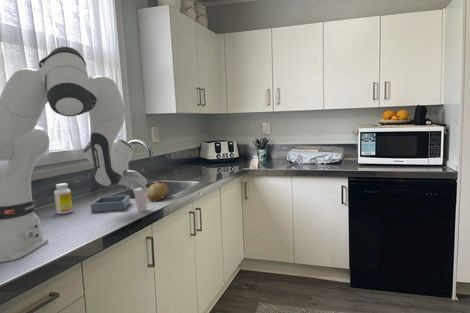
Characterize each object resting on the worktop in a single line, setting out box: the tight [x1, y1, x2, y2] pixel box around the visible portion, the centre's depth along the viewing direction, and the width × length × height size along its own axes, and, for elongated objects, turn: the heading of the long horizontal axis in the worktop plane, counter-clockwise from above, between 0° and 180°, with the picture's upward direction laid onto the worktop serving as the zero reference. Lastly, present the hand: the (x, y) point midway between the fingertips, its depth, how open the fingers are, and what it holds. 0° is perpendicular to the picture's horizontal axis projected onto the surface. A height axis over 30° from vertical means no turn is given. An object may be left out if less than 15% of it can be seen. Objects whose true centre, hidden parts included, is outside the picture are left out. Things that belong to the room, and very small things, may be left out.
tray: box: [90, 194, 131, 214], centre depth 159 cm, size 14×14×4 cm
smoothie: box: [132, 187, 148, 213], centre depth 152 cm, size 6×6×14 cm
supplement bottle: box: [53, 182, 74, 215], centre depth 155 cm, size 7×7×13 cm
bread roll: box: [147, 182, 169, 202], centre depth 175 cm, size 10×15×8 cm, turn 172°
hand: (139, 189), depth 150 cm, fingers open, 8 cm apart
